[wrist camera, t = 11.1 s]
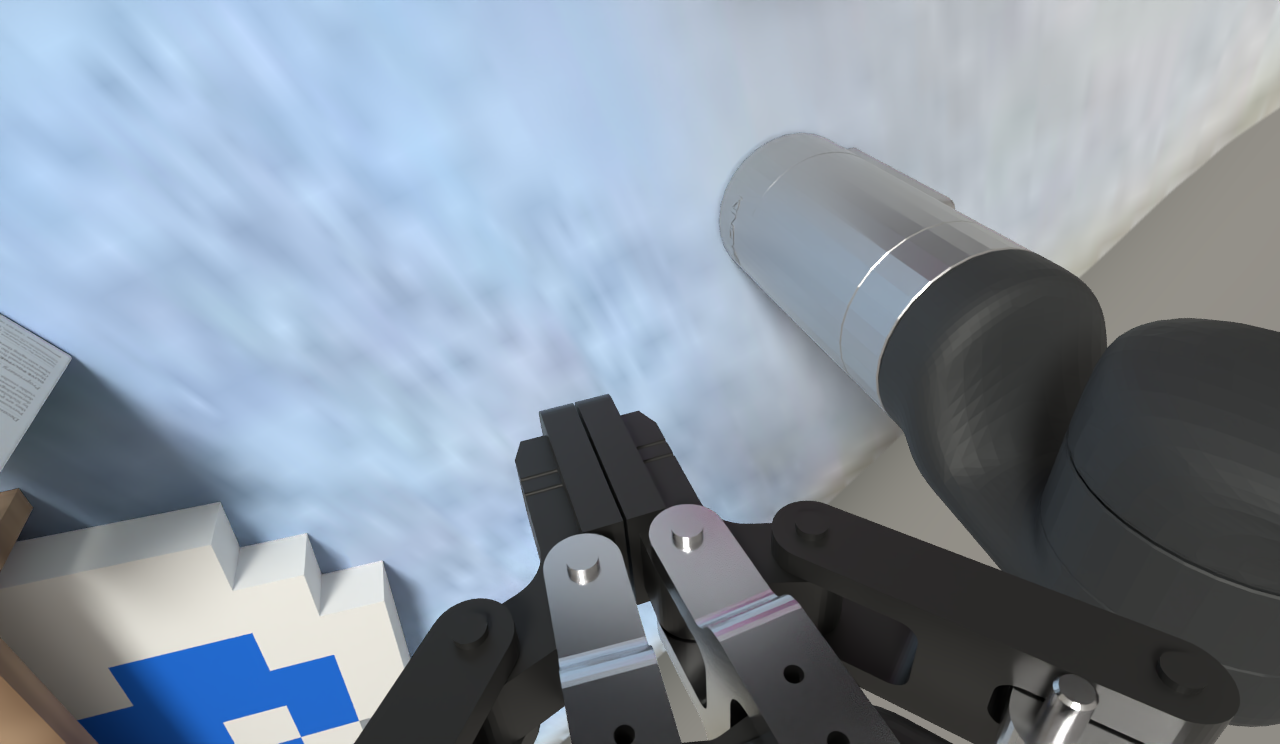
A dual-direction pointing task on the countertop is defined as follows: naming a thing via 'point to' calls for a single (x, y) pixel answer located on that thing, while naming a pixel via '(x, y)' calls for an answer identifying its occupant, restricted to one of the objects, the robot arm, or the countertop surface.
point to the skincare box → (24, 381)
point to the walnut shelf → (6, 688)
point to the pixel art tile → (201, 633)
